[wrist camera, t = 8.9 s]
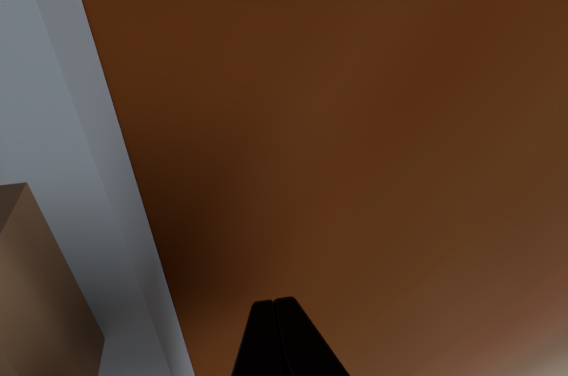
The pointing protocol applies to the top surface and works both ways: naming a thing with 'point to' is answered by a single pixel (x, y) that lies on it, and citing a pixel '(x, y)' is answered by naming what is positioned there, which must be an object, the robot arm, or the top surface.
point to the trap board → (84, 182)
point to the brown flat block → (40, 297)
